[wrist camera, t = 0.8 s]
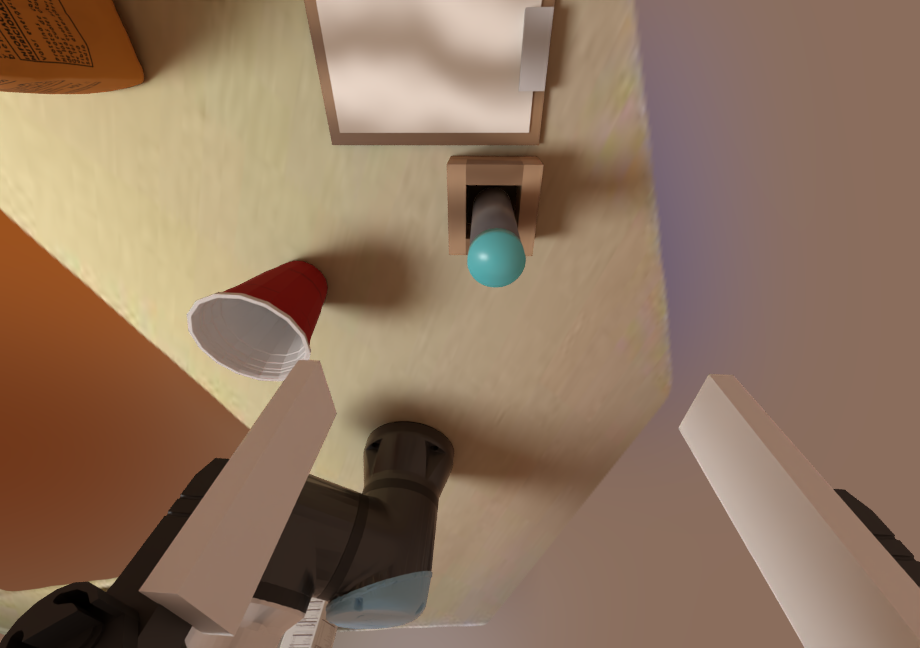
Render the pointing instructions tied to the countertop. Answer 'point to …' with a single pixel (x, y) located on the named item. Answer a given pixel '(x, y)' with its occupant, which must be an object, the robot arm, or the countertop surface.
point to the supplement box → (311, 629)
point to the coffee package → (65, 48)
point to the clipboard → (432, 70)
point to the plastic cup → (261, 321)
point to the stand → (493, 172)
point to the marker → (494, 240)
